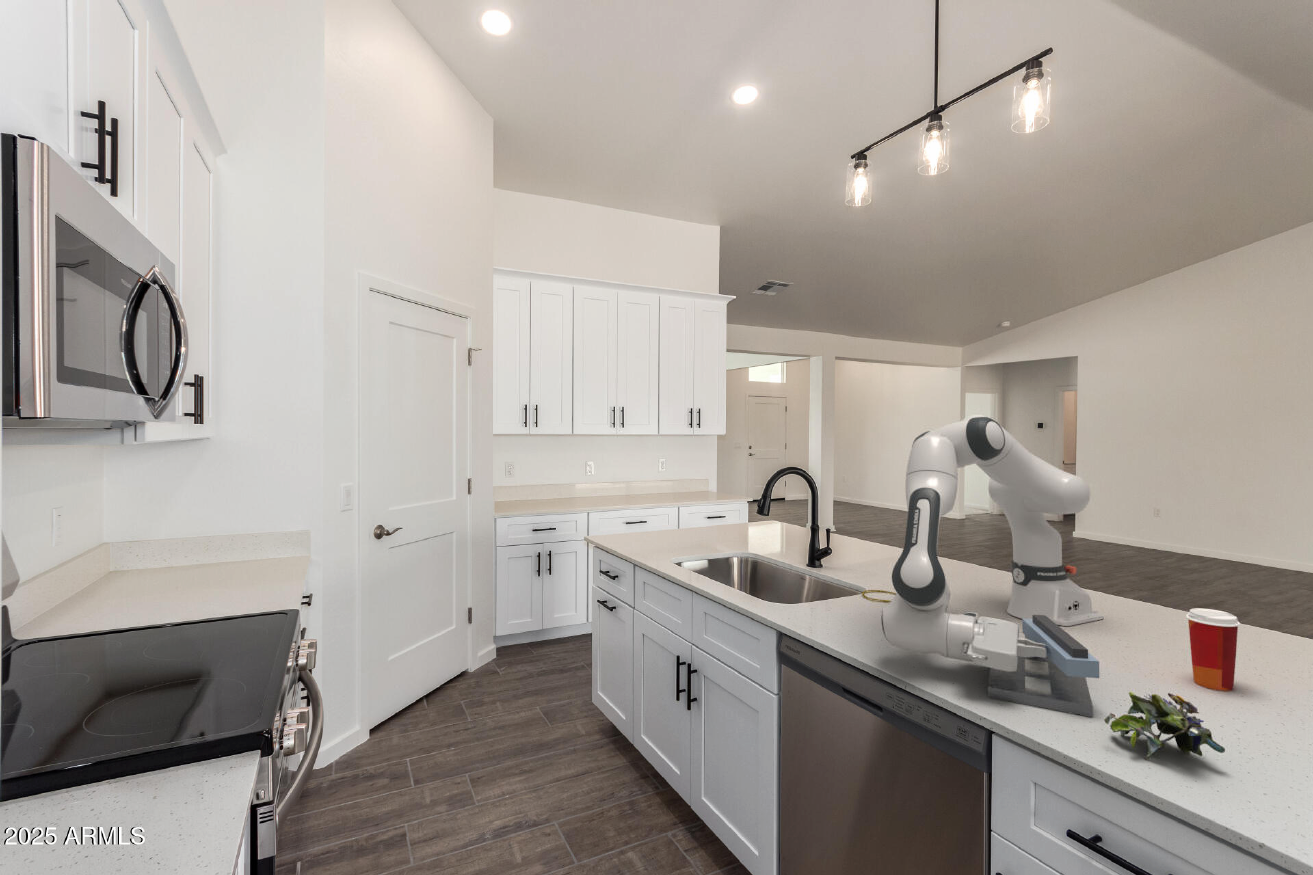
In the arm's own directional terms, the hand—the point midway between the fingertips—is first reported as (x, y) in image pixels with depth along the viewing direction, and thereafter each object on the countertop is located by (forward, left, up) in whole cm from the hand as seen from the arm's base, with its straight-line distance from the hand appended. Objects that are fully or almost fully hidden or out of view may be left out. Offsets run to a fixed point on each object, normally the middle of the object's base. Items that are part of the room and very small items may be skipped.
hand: (1046, 651), depth 113 cm
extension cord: (-6, -64, -9) cm, 65 cm away
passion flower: (+1, +22, -8) cm, 24 cm away
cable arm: (-4, -3, -4) cm, 7 cm away
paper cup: (-33, +4, -8) cm, 34 cm away
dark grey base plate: (-2, -5, -8) cm, 9 cm away
